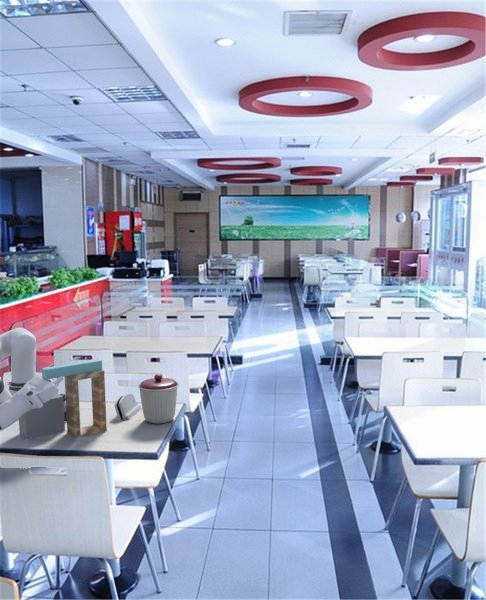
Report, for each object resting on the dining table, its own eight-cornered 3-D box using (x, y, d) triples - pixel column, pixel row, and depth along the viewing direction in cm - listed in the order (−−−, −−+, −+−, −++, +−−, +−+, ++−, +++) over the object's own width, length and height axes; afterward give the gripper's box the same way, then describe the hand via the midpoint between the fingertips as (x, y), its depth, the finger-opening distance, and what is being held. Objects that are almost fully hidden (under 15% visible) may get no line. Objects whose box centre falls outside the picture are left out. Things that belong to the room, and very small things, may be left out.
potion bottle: (71, 416, 254) (70, 390, 253) (73, 421, 246) (72, 395, 245) (52, 418, 251) (50, 392, 250) (53, 424, 243) (51, 398, 242)
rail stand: (75, 438, 226) (72, 376, 223) (67, 433, 232) (64, 372, 229) (106, 430, 235) (104, 370, 232) (98, 425, 241) (95, 367, 238)
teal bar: (45, 379, 218) (45, 369, 218) (42, 377, 221) (41, 368, 221) (102, 369, 233) (101, 360, 233) (98, 368, 236) (97, 359, 236)
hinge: (128, 420, 248) (121, 399, 247) (119, 423, 249) (111, 402, 248) (141, 408, 264) (134, 389, 264) (133, 411, 265) (125, 392, 265)
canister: (177, 426, 239) (176, 379, 236) (135, 427, 238) (133, 379, 236) (181, 413, 257) (180, 369, 254) (142, 413, 256) (141, 369, 254)
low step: (26, 439, 225) (24, 404, 223) (19, 434, 232) (17, 399, 230) (65, 430, 235) (63, 396, 233) (56, 425, 242) (55, 392, 240)
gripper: (23, 397, 225) (52, 376, 232) (42, 409, 209) (71, 385, 216) (15, 386, 222) (43, 364, 229) (32, 396, 207) (63, 373, 214)
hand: (57, 374), depth 223 cm, fingers open, 8 cm apart
